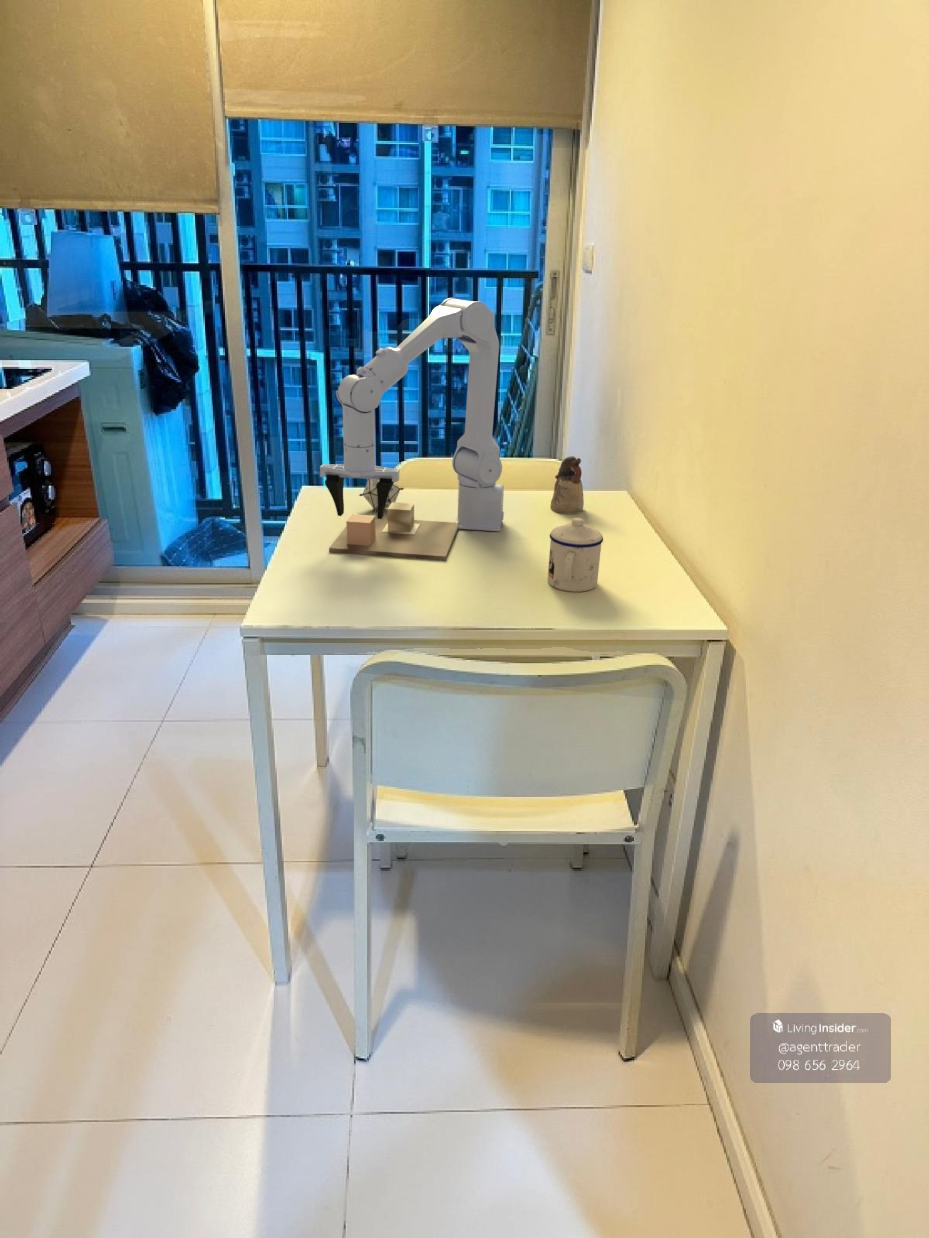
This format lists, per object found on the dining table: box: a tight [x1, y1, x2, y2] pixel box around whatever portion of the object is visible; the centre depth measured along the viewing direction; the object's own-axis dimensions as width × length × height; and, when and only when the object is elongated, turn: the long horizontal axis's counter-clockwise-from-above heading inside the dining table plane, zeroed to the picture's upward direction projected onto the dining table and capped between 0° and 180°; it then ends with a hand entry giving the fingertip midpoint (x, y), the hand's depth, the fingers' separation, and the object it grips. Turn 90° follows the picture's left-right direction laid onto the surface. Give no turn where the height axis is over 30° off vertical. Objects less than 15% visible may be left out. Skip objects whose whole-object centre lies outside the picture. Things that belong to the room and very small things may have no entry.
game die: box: [358, 479, 405, 514], centre depth 178 cm, size 9×8×10 cm
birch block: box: [387, 501, 415, 532], centre depth 165 cm, size 4×4×4 cm
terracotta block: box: [345, 513, 376, 546], centre depth 158 cm, size 4×4×4 cm
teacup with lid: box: [547, 517, 604, 593], centre depth 141 cm, size 12×9×12 cm
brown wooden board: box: [328, 516, 459, 561], centre depth 163 cm, size 22×20×1 cm
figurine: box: [549, 455, 585, 515], centre depth 182 cm, size 7×7×12 cm
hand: (360, 515), depth 157 cm, fingers open, 7 cm apart
